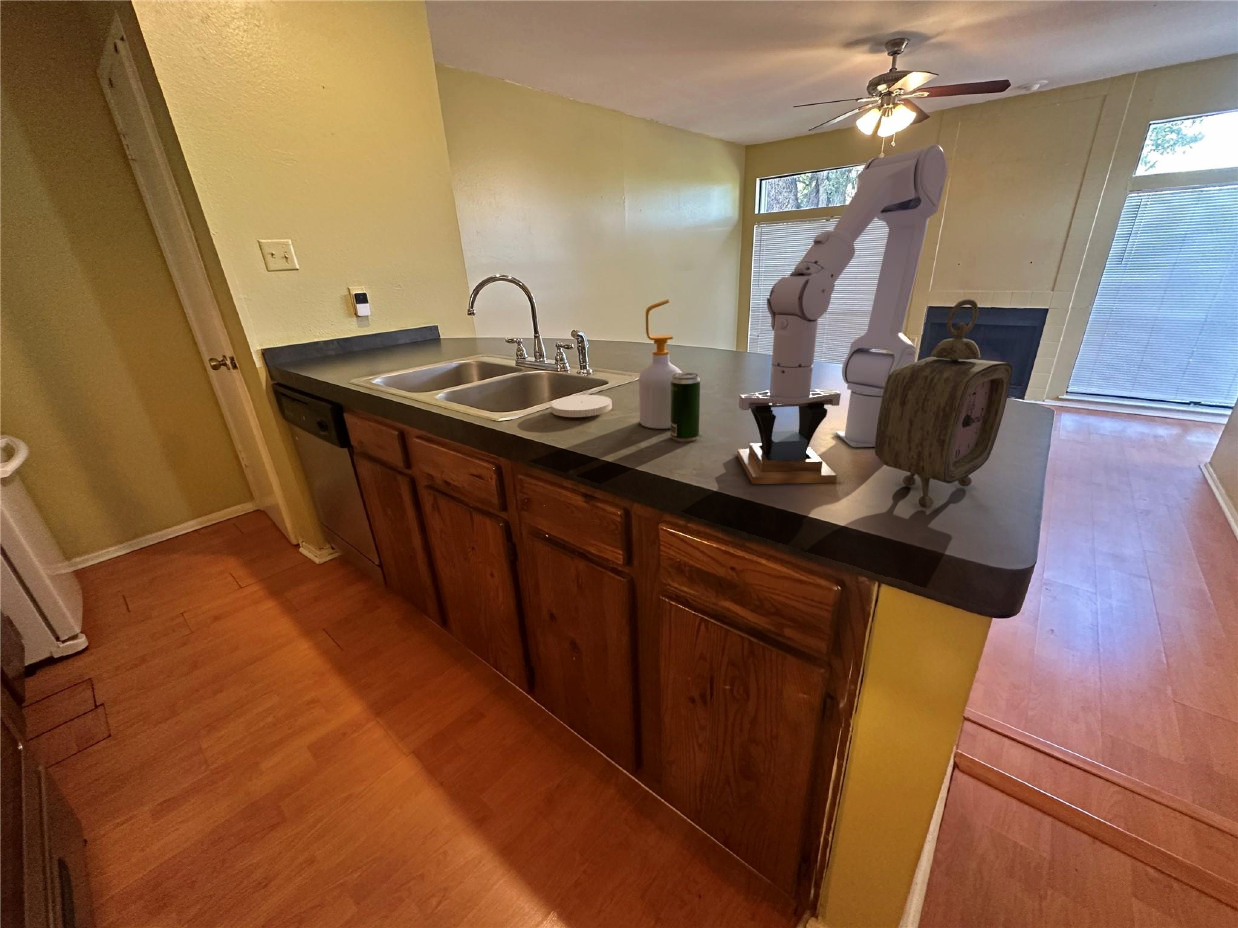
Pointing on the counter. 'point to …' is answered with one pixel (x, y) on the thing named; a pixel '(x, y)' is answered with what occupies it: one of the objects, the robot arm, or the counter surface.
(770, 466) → the base pad
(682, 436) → the beer can
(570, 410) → the plastic lid
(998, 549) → the counter surface
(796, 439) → the dark gray block
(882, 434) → the tabletop clock
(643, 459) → the counter surface
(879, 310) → the robot arm
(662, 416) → the soap bottle
